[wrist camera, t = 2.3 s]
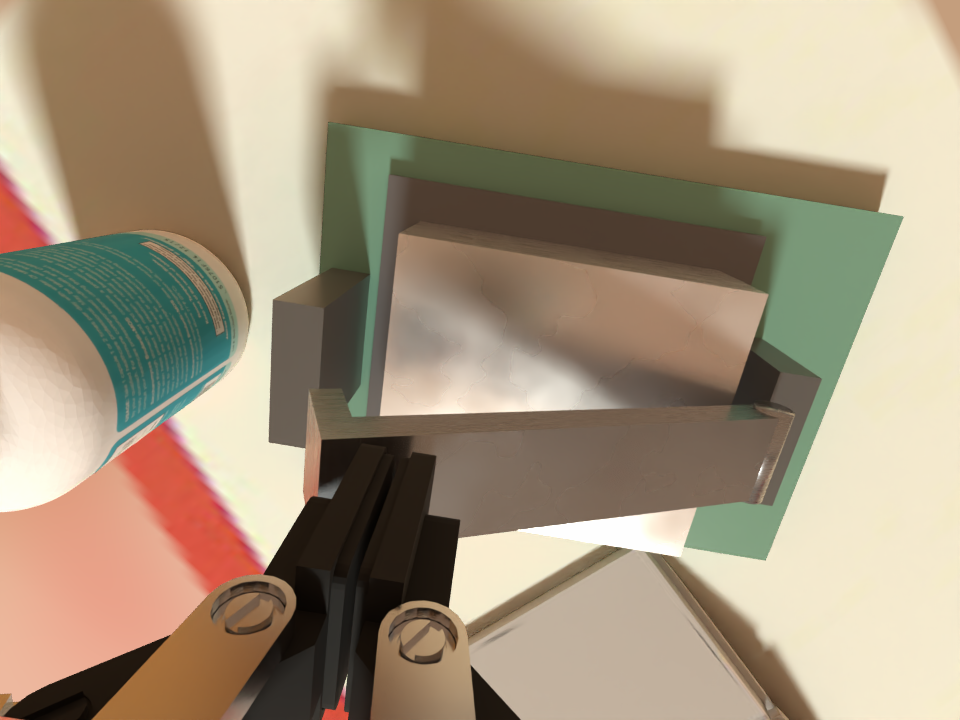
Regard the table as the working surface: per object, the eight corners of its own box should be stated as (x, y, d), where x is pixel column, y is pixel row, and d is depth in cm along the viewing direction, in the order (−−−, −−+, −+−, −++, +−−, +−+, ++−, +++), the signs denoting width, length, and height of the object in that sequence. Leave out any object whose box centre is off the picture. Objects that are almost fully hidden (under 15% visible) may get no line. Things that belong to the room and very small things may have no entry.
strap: (737, 381, 19) (803, 416, 17) (711, 460, 21) (770, 502, 18) (308, 385, 14) (322, 437, 11) (303, 494, 15) (314, 563, 12)
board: (878, 213, 22) (1048, 233, 15) (752, 540, 27) (834, 666, 20) (340, 124, 22) (260, 103, 15) (317, 468, 27) (251, 570, 20)
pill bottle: (113, 198, 24) (-354, 232, 11) (275, 270, 24) (14, 380, 12) (82, 348, 26) (-330, 520, 13) (231, 410, 27) (-26, 629, 14)
